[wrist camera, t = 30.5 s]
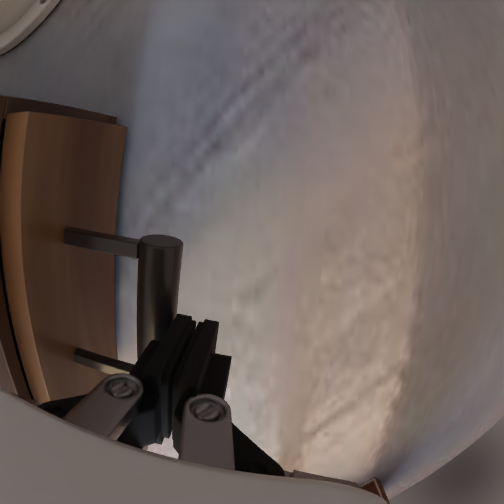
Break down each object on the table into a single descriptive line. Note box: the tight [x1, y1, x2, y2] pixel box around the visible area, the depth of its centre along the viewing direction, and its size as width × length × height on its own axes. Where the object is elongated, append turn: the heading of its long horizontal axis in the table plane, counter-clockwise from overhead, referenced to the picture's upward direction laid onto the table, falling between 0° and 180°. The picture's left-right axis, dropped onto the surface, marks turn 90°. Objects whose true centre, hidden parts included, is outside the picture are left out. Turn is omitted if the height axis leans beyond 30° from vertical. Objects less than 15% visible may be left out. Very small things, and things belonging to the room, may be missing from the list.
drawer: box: [0, 111, 183, 405], centre depth 13 cm, size 20×15×8 cm
